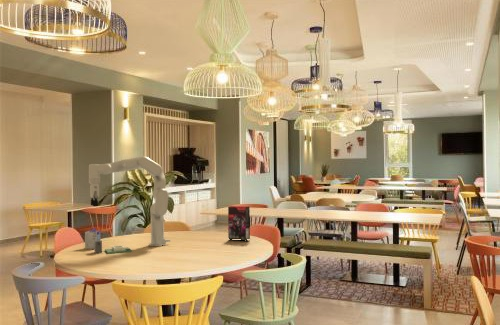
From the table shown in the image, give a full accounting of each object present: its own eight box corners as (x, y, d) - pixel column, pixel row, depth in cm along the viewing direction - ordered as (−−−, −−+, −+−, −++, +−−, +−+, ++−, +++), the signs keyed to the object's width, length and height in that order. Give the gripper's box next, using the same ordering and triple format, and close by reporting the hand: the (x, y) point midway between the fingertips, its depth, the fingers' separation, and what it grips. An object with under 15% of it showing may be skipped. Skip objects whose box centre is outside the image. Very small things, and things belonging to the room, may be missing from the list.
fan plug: (100, 251, 309) (100, 240, 310) (102, 253, 301) (102, 241, 301) (94, 252, 308) (94, 240, 308) (96, 254, 299) (96, 242, 300)
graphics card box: (227, 240, 357) (227, 206, 358) (232, 239, 363) (232, 205, 364) (245, 242, 348) (245, 206, 349) (250, 240, 354) (250, 206, 355)
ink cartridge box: (101, 247, 325) (101, 227, 325) (97, 249, 320) (97, 228, 320) (88, 247, 327) (88, 227, 327) (84, 248, 322) (84, 228, 322)
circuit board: (128, 249, 319) (128, 244, 319) (131, 251, 307) (131, 247, 307) (104, 250, 312) (104, 246, 312) (107, 253, 300) (107, 249, 300)
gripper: (102, 181, 311) (101, 206, 311) (97, 181, 326) (97, 204, 326) (90, 181, 308) (90, 206, 307) (87, 181, 323) (86, 205, 323)
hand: (94, 205), depth 317 cm, fingers open, 9 cm apart
